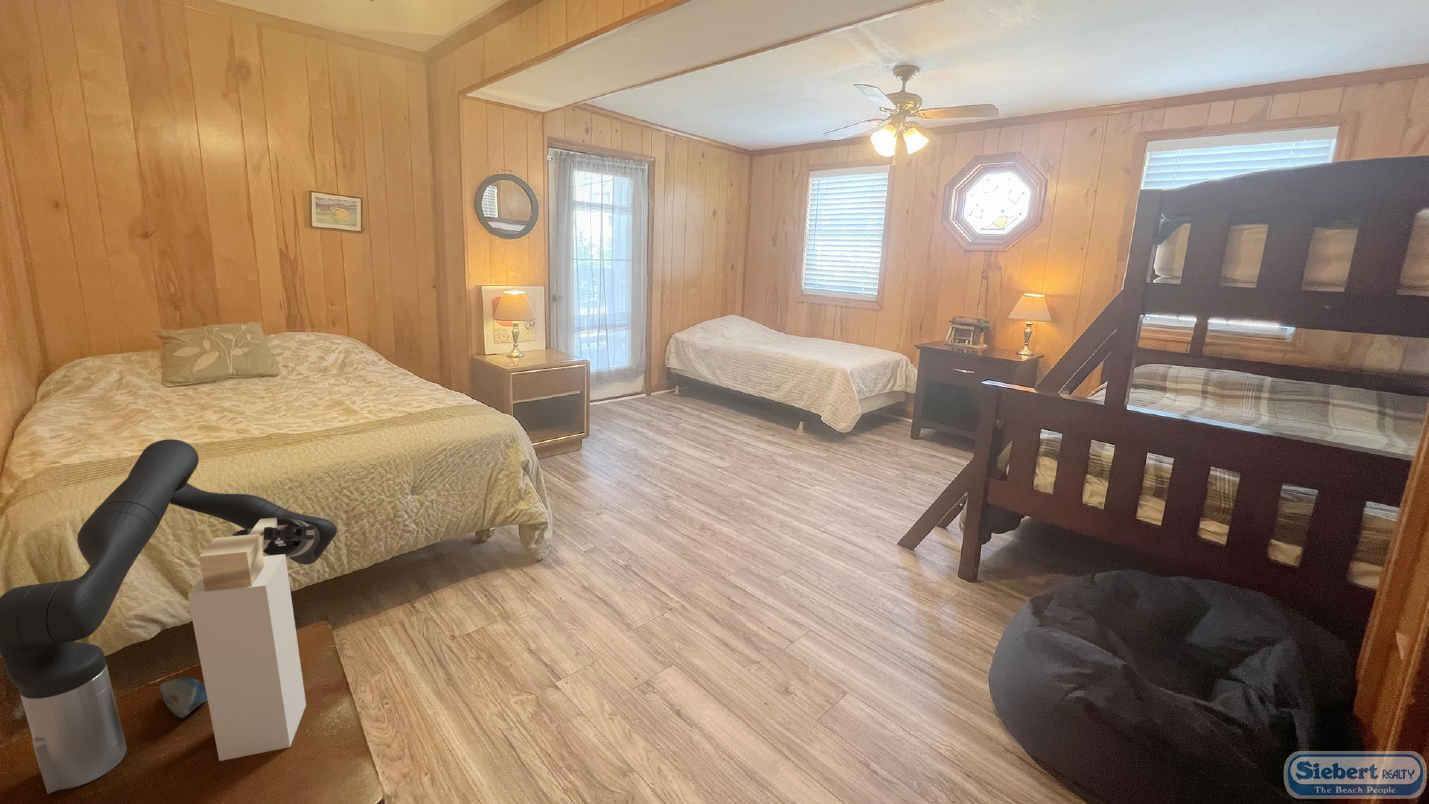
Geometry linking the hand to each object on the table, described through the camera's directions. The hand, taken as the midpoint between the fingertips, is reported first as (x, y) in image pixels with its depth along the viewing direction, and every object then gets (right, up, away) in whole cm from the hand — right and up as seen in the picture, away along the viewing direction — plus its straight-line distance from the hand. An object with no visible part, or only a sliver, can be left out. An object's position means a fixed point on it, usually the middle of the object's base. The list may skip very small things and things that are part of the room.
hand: (255, 534), depth 104 cm
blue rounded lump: (-18, -34, +6) cm, 39 cm away
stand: (+1, -36, +1) cm, 36 cm away
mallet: (+1, -3, -2) cm, 4 cm away
